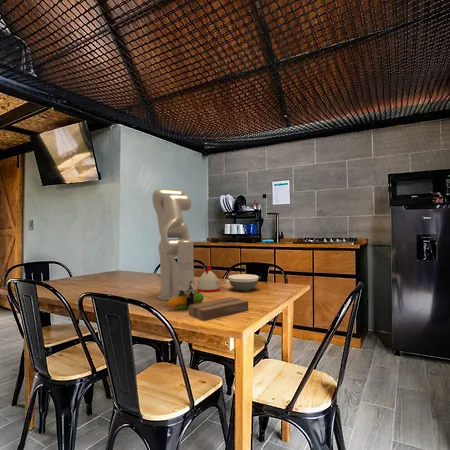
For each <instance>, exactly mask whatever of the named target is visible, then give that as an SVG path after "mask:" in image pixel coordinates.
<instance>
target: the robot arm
mask: <svg viewBox="0 0 450 450" xmlns="http://www.w3.org/2000/svg"><path fill="white" fill-rule="evenodd" d="M152 204H153V205H152V206H153V208H154V210H155V213H156V216H157V223H158V233H159V235H160V242H159V243H158V253H159V254H158V255H159V264H160V266H159V267H160V269H159V270H160V271H159V272H160V274H159V275H160V280H159V281H160V288H159V292H160V294H159V295H157V299H158V300H162V301H169V300H171V299H172V298H175V297H177V296H180V295H183V294H185V293H183V292H187V293H186V294H187V295H188V297H187V306H189V305H192V304H194V294H195V291H197V287H196V286H195V281H196V280H195V272H194V242H193V240H190V234H189V228H188V224H187V223H186V222H184V221H185V220H184V216H183V212H186V211H187V212H188V211H190V210H191V207H192V200H191V198H190V196H189V195H188V194H187V193H186V192H184V191H183V190H178V189H177V190H176V189H164V188H163V189H156V190H155V191H154V192H153V193H152ZM176 257H177V259H175V258H176ZM176 260H177V261H176ZM189 292H190V294H189ZM179 293H183V294H179ZM178 294H179V295H178Z"/></svg>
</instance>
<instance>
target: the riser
mask: <svg viewBox="0 0 450 450" xmlns="http://www.w3.org/2000/svg"><path fill="white" fill-rule="evenodd" d="M248 311H249V301H247V300H243V299H239V298H237V297H234V296H233V297H232V296H230V297H224V298H221V299H220V298H219V299H215V300H209V301H205V302H203V301H202V303H198V304H192V305H189V308H188V315H189V316H192V317H194V318H196V319H199V320H202V321H204V322H205V321H210V320H215V319H217V318H222V317H227V316H231V315H235V314H239V313H243V312H244V313H245V312H248Z"/></svg>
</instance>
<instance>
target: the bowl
mask: <svg viewBox="0 0 450 450" xmlns="http://www.w3.org/2000/svg"><path fill="white" fill-rule="evenodd" d="M259 278H260V276H258V275H256V274H250V273H249V274H248V273H245V274H244V273H240V274H239V273H238V274H230V275H229V276H228V280H229V285H230V286H231V287H232V288H234V289H235V290H236V291H239V292H248V291H249V292H251V290H252V289H254V288H255V287H256V286H257V285H258V283H259Z"/></svg>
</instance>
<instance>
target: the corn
mask: <svg viewBox="0 0 450 450" xmlns="http://www.w3.org/2000/svg"><path fill="white" fill-rule="evenodd" d="M183 293H184V294H183ZM183 293H179V294H183V295H180V296H177V297H175V298H172V299H171V300H167V302H166V305H167V306H168V307H171V308H175V310H189V306H187V297H188V295H187V292H183ZM190 293H191V292H189V294H190ZM179 294H178V295H179ZM204 298H205V297H204V294H203V293H202V292H198V291H197V290H196V291H195V294H194V304H198V303H203V300H204Z"/></svg>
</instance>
